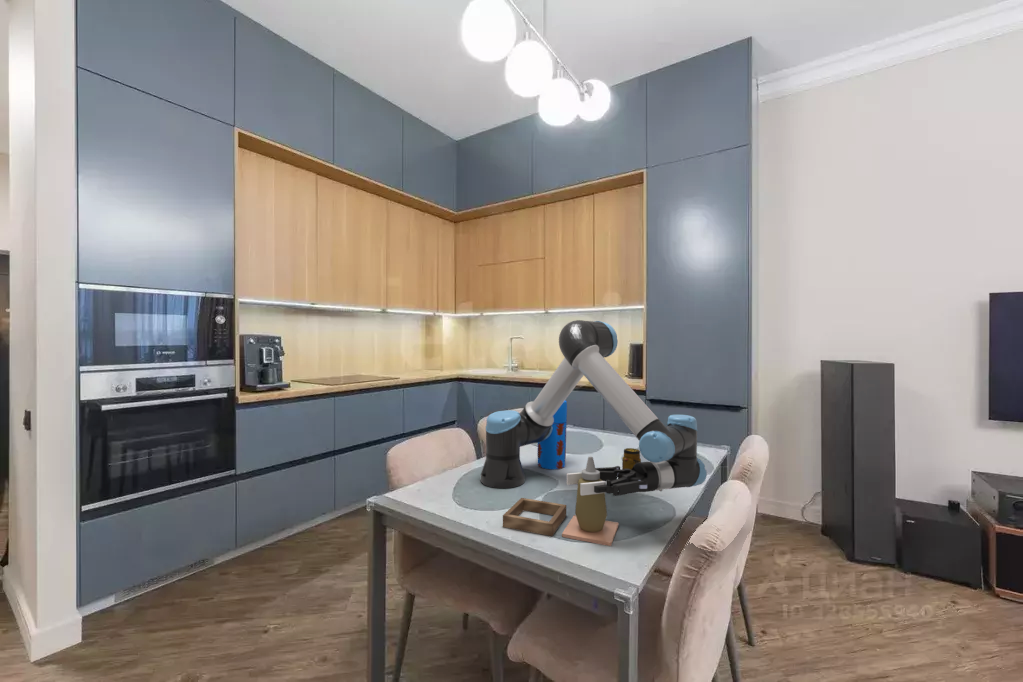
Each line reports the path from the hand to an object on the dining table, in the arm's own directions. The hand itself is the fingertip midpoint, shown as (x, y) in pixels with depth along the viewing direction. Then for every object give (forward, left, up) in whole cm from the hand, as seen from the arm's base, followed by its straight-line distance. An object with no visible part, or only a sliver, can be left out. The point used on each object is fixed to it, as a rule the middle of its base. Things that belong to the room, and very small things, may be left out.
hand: (573, 484), depth 107 cm
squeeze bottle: (+4, +3, -12) cm, 13 cm away
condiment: (+10, +42, -13) cm, 45 cm away
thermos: (-22, +53, -13) cm, 59 cm away
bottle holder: (-11, +3, -13) cm, 17 cm away
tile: (+4, +3, -13) cm, 13 cm away
